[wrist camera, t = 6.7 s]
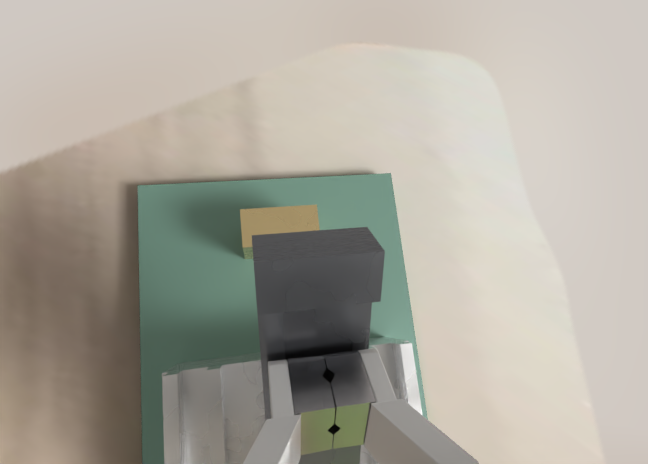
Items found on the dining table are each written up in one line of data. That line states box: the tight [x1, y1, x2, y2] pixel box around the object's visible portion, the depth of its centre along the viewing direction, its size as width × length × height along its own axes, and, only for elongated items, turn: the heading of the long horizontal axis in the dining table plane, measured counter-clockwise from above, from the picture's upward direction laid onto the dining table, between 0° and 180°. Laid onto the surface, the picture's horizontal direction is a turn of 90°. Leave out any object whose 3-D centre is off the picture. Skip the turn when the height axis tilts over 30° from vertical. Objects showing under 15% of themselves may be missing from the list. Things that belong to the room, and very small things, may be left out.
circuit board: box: [138, 173, 428, 464], centre depth 23 cm, size 24×16×1 cm, turn 6°
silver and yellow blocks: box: [162, 205, 423, 464], centre depth 20 cm, size 18×12×6 cm
